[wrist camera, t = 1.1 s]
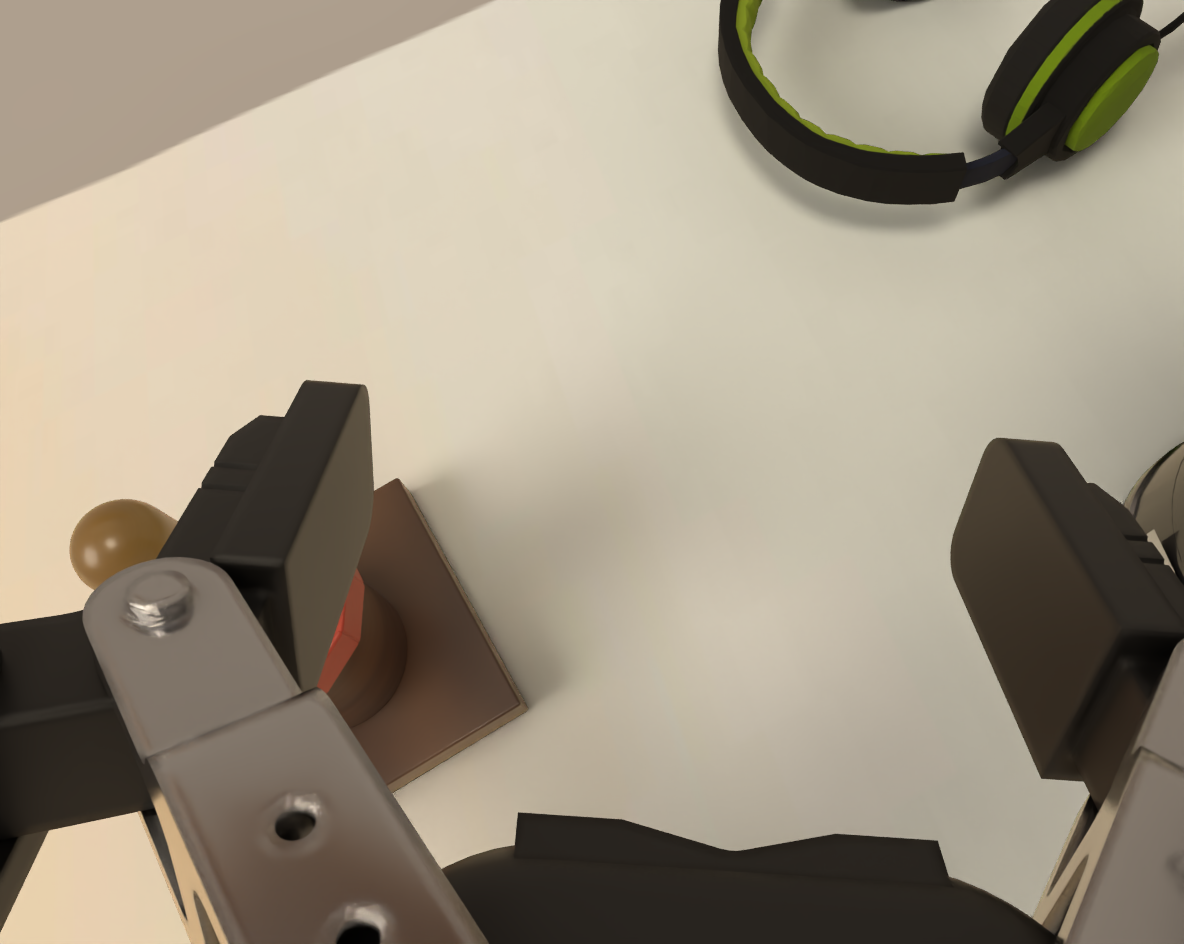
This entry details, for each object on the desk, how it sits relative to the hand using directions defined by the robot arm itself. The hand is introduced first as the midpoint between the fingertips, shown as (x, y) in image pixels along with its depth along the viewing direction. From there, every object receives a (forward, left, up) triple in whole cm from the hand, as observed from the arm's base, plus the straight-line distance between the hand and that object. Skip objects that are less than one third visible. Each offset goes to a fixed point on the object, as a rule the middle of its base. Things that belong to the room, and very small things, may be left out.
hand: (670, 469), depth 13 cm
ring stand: (+9, -7, -20) cm, 23 cm away
